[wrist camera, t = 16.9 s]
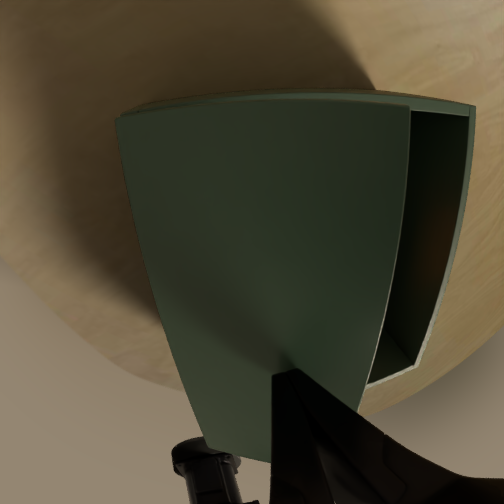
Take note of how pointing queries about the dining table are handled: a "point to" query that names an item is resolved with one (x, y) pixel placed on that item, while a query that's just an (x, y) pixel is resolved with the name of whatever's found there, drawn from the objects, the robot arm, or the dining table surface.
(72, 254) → the dining table surface
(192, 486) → the robot arm
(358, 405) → the flap
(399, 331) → the green storage bin
